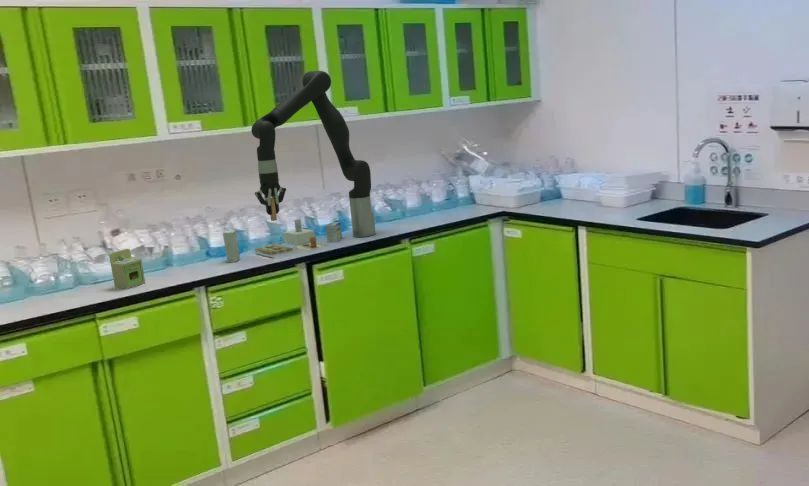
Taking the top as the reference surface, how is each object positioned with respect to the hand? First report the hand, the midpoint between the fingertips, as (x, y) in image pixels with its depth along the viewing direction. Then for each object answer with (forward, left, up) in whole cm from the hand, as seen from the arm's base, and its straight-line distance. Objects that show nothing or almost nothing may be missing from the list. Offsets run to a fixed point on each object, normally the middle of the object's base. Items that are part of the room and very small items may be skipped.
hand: (273, 213), depth 306 cm
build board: (0, -3, -17) cm, 17 cm away
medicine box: (-26, +3, -17) cm, 31 cm away
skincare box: (+16, -8, -17) cm, 25 cm away
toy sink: (+59, -5, -17) cm, 62 cm away
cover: (-16, -9, -17) cm, 25 cm away
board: (-13, +4, -17) cm, 22 cm away
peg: (0, 0, -3) cm, 3 cm away
